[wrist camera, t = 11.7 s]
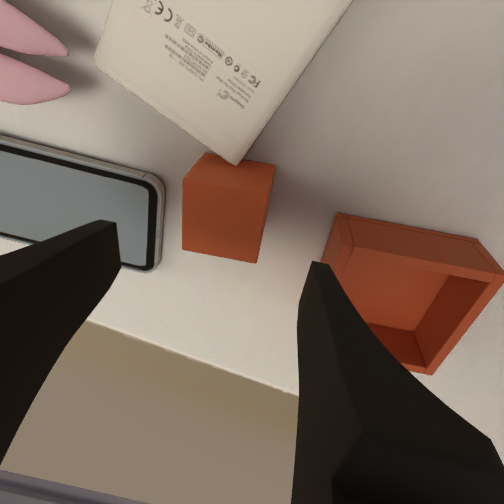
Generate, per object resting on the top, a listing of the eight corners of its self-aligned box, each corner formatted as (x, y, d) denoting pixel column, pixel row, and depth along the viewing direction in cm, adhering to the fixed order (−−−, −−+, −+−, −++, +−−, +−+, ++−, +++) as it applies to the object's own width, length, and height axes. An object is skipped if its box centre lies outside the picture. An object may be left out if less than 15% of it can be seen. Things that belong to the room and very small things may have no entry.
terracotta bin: (477, 238, 18) (509, 276, 15) (416, 333, 23) (432, 376, 20) (336, 212, 19) (342, 243, 16) (304, 311, 23) (303, 349, 20)
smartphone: (156, 277, 22) (-57, 224, 22) (161, 268, 23) (-45, 217, 23) (162, 180, 18) (-102, 112, 18) (167, 174, 19) (-85, 109, 19)
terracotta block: (275, 164, 18) (268, 193, 14) (264, 226, 20) (256, 264, 17) (204, 152, 18) (181, 178, 14) (202, 215, 20) (181, 250, 17)
